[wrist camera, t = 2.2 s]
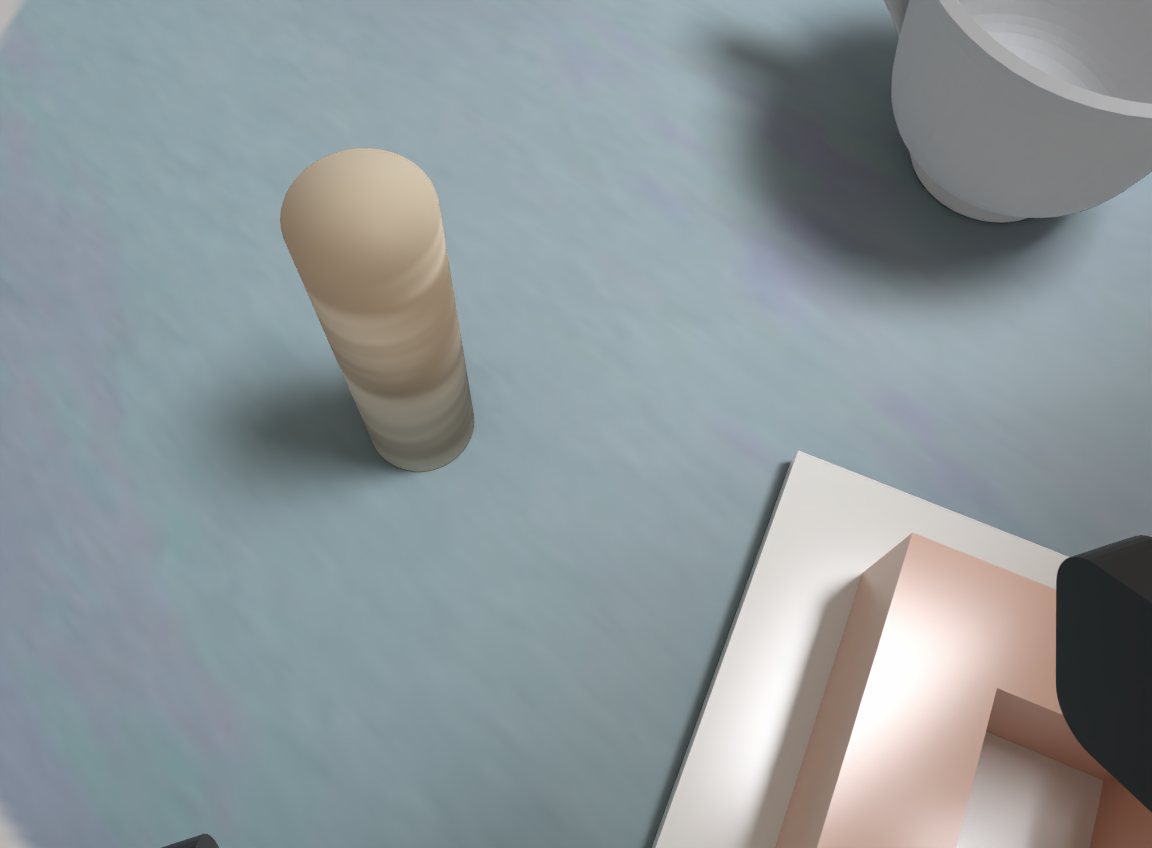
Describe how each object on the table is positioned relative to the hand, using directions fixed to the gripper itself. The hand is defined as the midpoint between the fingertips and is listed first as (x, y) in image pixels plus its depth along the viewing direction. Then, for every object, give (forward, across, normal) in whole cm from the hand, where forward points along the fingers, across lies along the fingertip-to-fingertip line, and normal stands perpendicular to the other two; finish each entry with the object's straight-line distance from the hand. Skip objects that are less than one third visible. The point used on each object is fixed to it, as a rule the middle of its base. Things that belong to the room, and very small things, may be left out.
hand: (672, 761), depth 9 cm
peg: (+24, +1, +6) cm, 25 cm away
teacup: (+28, -20, +2) cm, 34 cm away
